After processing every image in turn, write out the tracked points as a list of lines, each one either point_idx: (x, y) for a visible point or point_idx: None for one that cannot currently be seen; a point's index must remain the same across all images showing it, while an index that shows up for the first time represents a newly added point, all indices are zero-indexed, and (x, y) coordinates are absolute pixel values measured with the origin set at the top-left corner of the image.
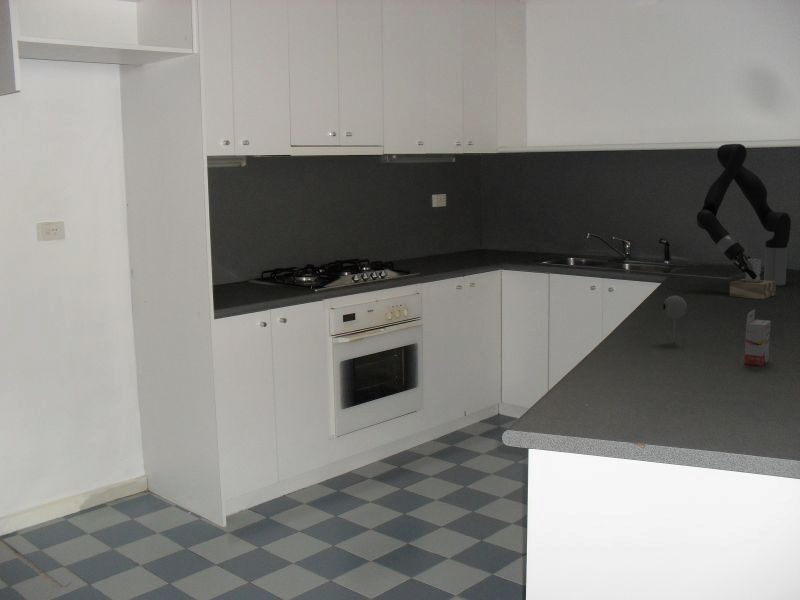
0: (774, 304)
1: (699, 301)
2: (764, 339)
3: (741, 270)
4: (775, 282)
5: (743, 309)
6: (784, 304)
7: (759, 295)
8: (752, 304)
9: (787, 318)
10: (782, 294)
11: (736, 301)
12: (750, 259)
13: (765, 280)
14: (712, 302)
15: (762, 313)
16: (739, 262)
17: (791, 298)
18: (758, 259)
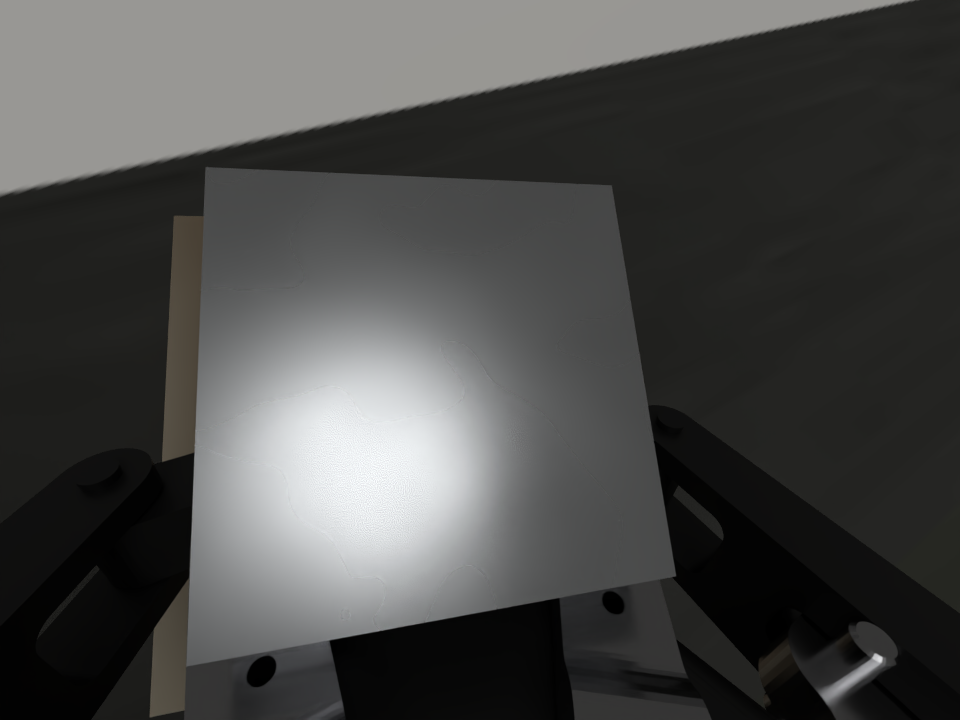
0: (686, 150)
1: (919, 583)
2: None
3: (680, 522)
4: (194, 225)
5: (933, 228)
6: (646, 104)
7: None
8: (774, 252)
9: (957, 12)
10: (150, 251)
11: (747, 383)
12: (536, 473)
13: (184, 342)
14: (887, 487)
15: (947, 120)
16: (913, 605)
17: (360, 130)
18: (342, 221)
